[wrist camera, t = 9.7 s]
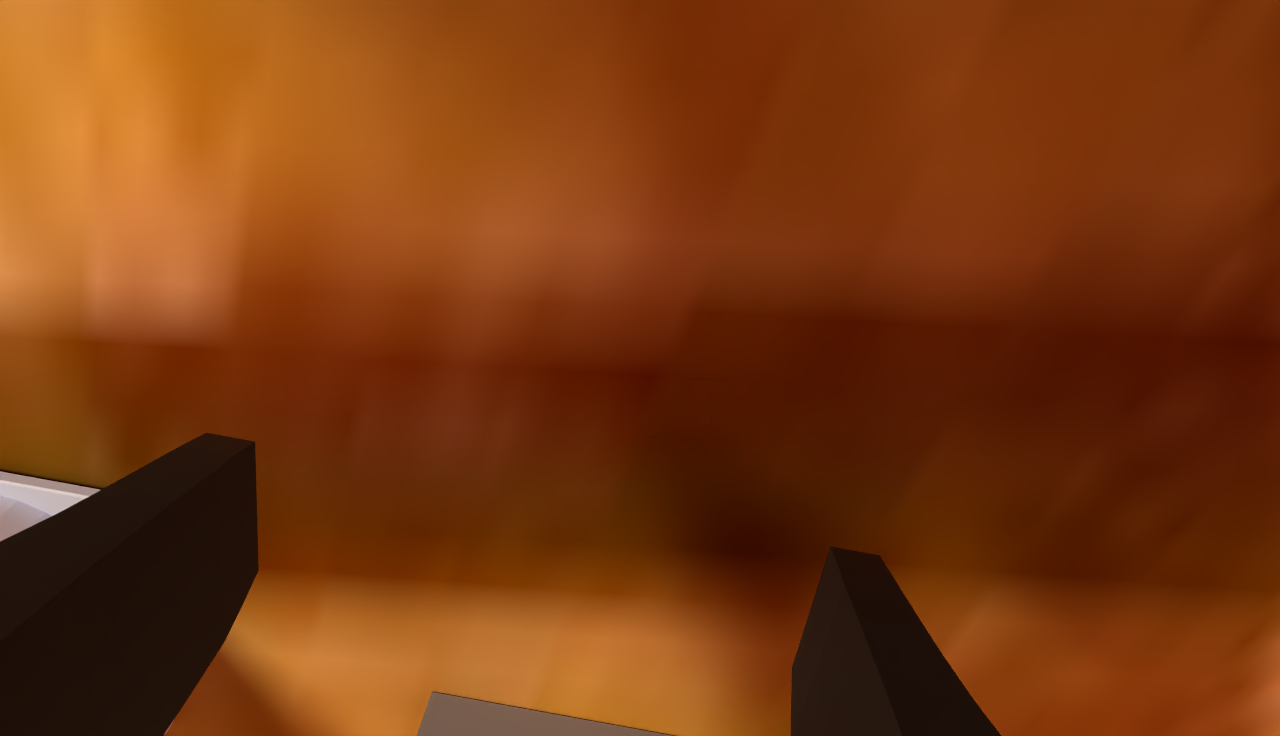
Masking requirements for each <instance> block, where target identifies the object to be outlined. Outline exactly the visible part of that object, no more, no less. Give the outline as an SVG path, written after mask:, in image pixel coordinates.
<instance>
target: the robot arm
mask: <svg viewBox="0 0 1280 736" xmlns="http://www.w3.org/2000/svg"><path fill="white" fill-rule="evenodd" d="M257 572H258V535H257V497H256V460H255V442H254V441H248V440H243V439H237V438H232V437H226V436H221V435H215V434H210V433H205V434H203V435H201V436H199V437H197V438H195V439H193V440H191V441H189V442H187V443H186V444H184V445H182V446H180V447H178V448H176V449H174V450H173V451H171V452H169V453H167V454H165V455H163V456H162V457H160V458H158V459H156V460H154V461H153V462H151V463H149V464H147V465H145V466H144V467H142V468H140V469H138V470H137V471H135V472H133V473H131V474H129V475H128V476H126V477H124V478H122V479H120V480H118V481H117V482H115V483H113V484H111V485H109V486H107V487H106V488H104V489H102V490H100V489H94V488H89V487H83V486H78V485H72V484H67V483H61V482H56V481H50V480H45V479H39V478H34V477H28V476H23V475H17V474H12V473H6V472H1V471H0V736H163V735H164V734H166V733H167V732H168V731H169V729H170V727H171V726H172V724H173V723H174V719H175V717H176V715H177V714H178V712H179V711H180V709H181V708H182V706H183V705H184V703H185V702H186V700H187V699H188V697H189V696H190V694H191V693H192V691H193V690H194V688H195V686H196V685H197V683H198V682H199V680H200V679H201V677H202V676H203V674H204V673H205V671H206V669H207V668H208V666H209V665H210V663H211V662H212V660H213V659H214V657H215V655H216V654H217V652H218V651H219V649H220V648H221V646H222V644H223V643H224V641H225V639H226V637H227V635H228V633H229V631H230V629H231V627H232V625H233V623H234V621H235V619H236V617H237V615H238V613H239V611H240V609H241V607H242V605H243V603H244V601H245V598H246V596H247V594H248V592H249V590H250V588H251V585H252V583H253V581H254V579H255V577H256V575H257ZM791 736H1001V735H1000V733H999V732H998V731H997V730H996V728H995V727H994V726H993V724H992V723H991V722H990V721H989V719H988V718H987V717H986V715H985V714H984V713H983V712H982V710H981V709H980V708H979V706H978V705H977V703H976V702H975V701H974V699H973V698H972V697H971V695H970V694H969V692H968V691H967V689H966V688H965V687H964V685H963V684H962V682H961V681H960V679H959V678H958V676H957V675H956V673H955V672H954V671H953V669H952V668H951V666H950V665H949V663H948V662H947V660H946V659H945V658H944V656H943V655H942V653H941V652H940V650H939V648H938V647H937V645H936V644H935V642H934V641H933V639H932V638H931V636H930V635H929V633H928V632H927V630H926V628H925V627H924V625H923V624H922V622H921V621H920V619H919V617H918V616H917V614H916V613H915V611H914V610H913V608H912V606H911V605H910V603H909V602H908V600H907V598H906V597H905V595H904V594H903V592H902V590H901V589H900V587H899V585H898V584H897V582H896V581H895V579H894V577H893V576H892V574H891V573H890V571H889V570H888V568H887V567H886V565H885V563H884V562H883V560H882V559H881V557H880V556H879V555H873V554H868V553H863V552H857V551H852V550H846V549H841V548H835V547H830V550H829V553H828V556H827V560H826V563H825V566H824V569H823V572H822V575H821V578H820V582H819V585H818V588H817V591H816V594H815V597H814V601H813V604H812V607H811V610H810V613H809V616H808V619H807V623H806V626H805V629H804V632H803V635H802V638H801V641H800V645H799V648H798V651H797V654H796V657H795V660H794V663H793V667H792V695H791Z"/></svg>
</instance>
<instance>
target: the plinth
mask: <svg viewBox="0 0 1280 736" xmlns="http://www.w3.org/2000/svg"><path fill="white" fill-rule="evenodd" d="M417 736H672V735H666V734H661V733H655V732H650V731H644V730H639V729H633V728H628V727H622V726H617V725H611V724H606V723H600V722H595V721H589V720H584V719H578V718H573V717H567V716H562V715H556V714H551V713H545V712H540V711H535V710H529V709H524V708H518V707H513V706H507V705H502V704H496V703H491V702H485V701H480V700H474V699H469V698H463V697H458V696H452V695H447V694H441V693H436V692H432V694H431V697H430V700H429V702H428V705H427V708H426V711H425V714H424V717H423V720H422V722H421V725H420V728H419V731H418V734H417Z"/></svg>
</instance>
